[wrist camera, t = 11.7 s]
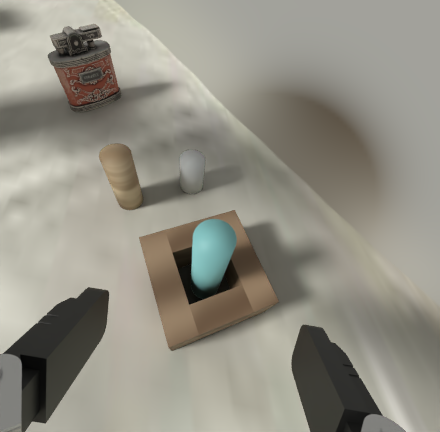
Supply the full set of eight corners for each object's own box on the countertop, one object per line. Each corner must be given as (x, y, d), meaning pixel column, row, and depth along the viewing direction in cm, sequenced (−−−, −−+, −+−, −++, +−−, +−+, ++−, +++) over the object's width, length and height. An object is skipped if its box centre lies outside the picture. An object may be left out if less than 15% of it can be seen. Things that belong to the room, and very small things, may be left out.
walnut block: (146, 256, 29) (139, 237, 24) (228, 231, 31) (234, 210, 27) (171, 350, 24) (168, 347, 20) (264, 311, 27) (278, 301, 23)
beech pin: (115, 193, 32) (96, 146, 25) (140, 187, 33) (127, 141, 26) (120, 212, 31) (101, 169, 24) (145, 206, 32) (134, 162, 25)
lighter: (76, 115, 38) (44, 43, 30) (66, 103, 39) (32, 30, 31) (125, 97, 42) (109, 28, 33) (114, 86, 43) (96, 16, 34)
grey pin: (177, 178, 35) (176, 152, 30) (198, 173, 35) (200, 147, 31) (184, 196, 33) (183, 171, 29) (206, 190, 34) (208, 165, 30)
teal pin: (187, 276, 28) (186, 225, 18) (212, 267, 29) (226, 214, 18) (196, 303, 27) (201, 265, 16) (222, 292, 28) (243, 250, 17)
